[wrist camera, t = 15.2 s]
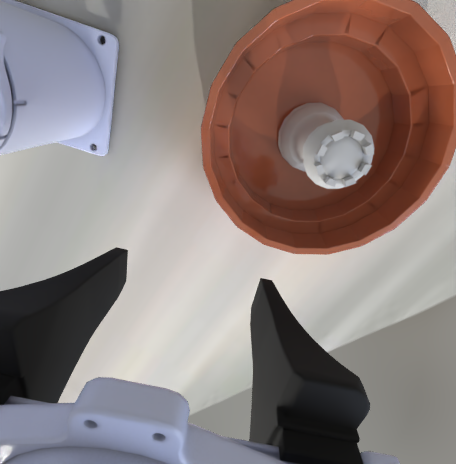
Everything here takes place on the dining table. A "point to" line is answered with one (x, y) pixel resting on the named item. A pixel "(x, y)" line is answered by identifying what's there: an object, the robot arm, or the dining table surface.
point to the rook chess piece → (326, 145)
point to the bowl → (347, 105)
